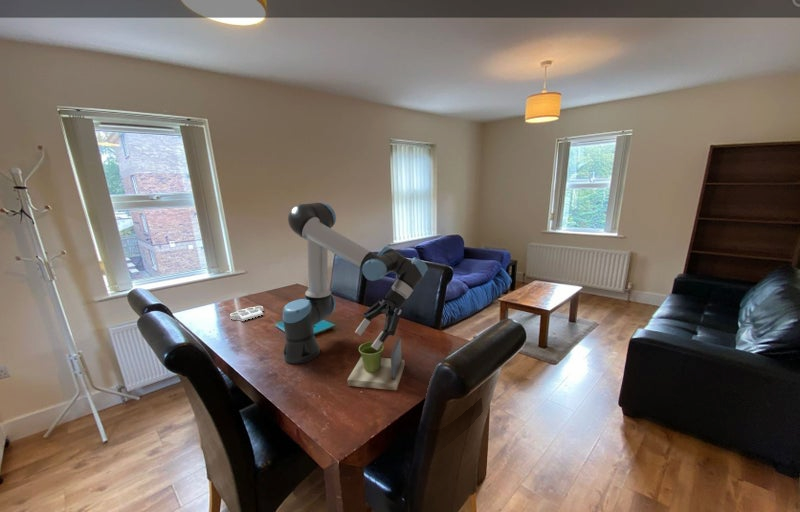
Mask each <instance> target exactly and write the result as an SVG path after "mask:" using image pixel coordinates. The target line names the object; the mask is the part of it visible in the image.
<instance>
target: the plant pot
mask: <svg viewBox="0 0 800 512" xmlns="http://www.w3.org/2000/svg"><path fill="white" fill-rule="evenodd" d="M373 343H374V341H367V342H365V343H362V344H360V345H359V347H358V352H359V353H360V356H362V360H363V364H364V369H365V371H367V372H376V371H378V370H379V369H380V367H381V358H383V357H382V356H383V355H382V354H383V351H384V349H385V346H384V345H383V343H382V344H381V346H380V347H379V349H378V350H376V349H374V348H373V347H371V346H372V344H373Z"/></svg>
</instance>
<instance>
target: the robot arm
mask: <svg viewBox="0 0 800 512" xmlns="http://www.w3.org/2000/svg"><path fill="white" fill-rule="evenodd" d="M336 216H337V215H336V212H335V210H334V208H333V207H332V206H331V205H330V204H328V203H326V202H310V203H299V204H297V205H295V206H293V207H292V208H291V209H290V211H289V213H288V217H287V221H288V225H289V227H290V229H291V231H292V232H294V233H295V234H297V235H298V236H299V237H301V238H302V239H304V240H306V241H307V245H306V246H307V276H308V277H307V281H308V282H307V285H308V287H307V290H306V291H305V293H304V298H301V299H300V298H299V299H295V300H292V301H289V302H287V304H285V306H283V308H282V321H283V327H284V328H283V329H284V336H285V344H284V347H283V352H282V355H283V360H284V361H285V362H286V363H289V364H293V365H294V364H303V363H307V362H311V361H313V360H314V359H316V358H317V357H318V356H319V354H320V352H321V351H320V345H319V343H318V341H317V339H316V336H315V333H314V326H316V325H317V324H318V323H320V322H322V321H323V320H325V319H327V318H329V317H330V316H331V315H332V314H333V313H334V312H335V310H336V307H337V306H336V305H337V303H336V298H335V297H334V295H333V294H332V291H331V290H330V288H328V287H329V286H328V284H329V282H328V281H329V279H328V275H329V274H328V270H329V268H328V266H329V265H328V262H329V261H328V257H329V255H328V253H329V252H331V253H332V254H334V255H336V256H338V257H339V258H341V259H343V260H344V261H346V262H348V263H350V264H351V265H352V266H355V268H358V269H360V270H361V271H362V275H363V276H364V278H365V279H366V280H368V281H371V282H375V281H378V280H381V279H383V278H384V277H385V276H387V275H388V274H390V273H392V272H393V273H394V274H395V275H397V276H398V278H397V279H396V281H394V283H393V284H392V286H391V289H389V290H388V291H387V293H386V294H385V299H384V298H382V297H380V298H379V299H378V301H376V302H375V303H373V305H372V306H370V307H369V308H368V309H366V310H365V311H364V312H363V315H364V318H363V319H362V321H361V322H360V324H359V325H358V327H357V328H356V330H355V331H354V333H356V334H357V335H359V337H360V336H362V334H363V333H364V331H365V330H366V329H367V327H368V326H369V325H370V323H371V321H372V320H373V319H375V318H376V317H378V316H380V315H385V322H384V329H382V330H381V332H380V333H379V334H378V336H377V337H376V338H375V340H374V341H373V342H374V343H373V344H372V346H371V347H373V348H374V349H376V350H378V349H379V347H380V346H381V344H383V343H384V342H385V341H386V340H387V338H388V337H389V336H395V334H396V331H397V328H398V324H399V321H400V318H401V316H402V314H403V310H402V309H400V308H402V307H403V306H404V304H405V303H406V301H407V299H408V298H409V297H410V296H411V294H412V293H413V291H414V290H415V289H416V287H417V286H418V284H420V282H421V280H422V279H423V278H424V276H425V274H426V273H427V271H428V265H427V264H426V263H425V262H424V261H423V260H422V259H420V258H418V257H412V259H410V258H409V259H408V258H407V257H406V256H404V255H403V254H402V253H399V252H398V251H396V250H395V249H394V248H392V247H390V246H388V245H384V246H383V247H382V248H381V249H380V250H379V251H378V253H377V254H375V253H373V252H372V251H371V250H369V249H366V248H365V247H363V246H361V245H360V244H359V243H356V241H353V240H351V239H350V238H348V237H346V236H345V235H343V234H341V233H339V232H338V231H336V230H334V229H332V227H333V226H334V225H335V223H336V221H337V217H336Z"/></svg>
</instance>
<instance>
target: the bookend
mask: <svg viewBox="0 0 800 512" xmlns="http://www.w3.org/2000/svg"><path fill="white" fill-rule="evenodd" d="M390 359H391V374H392V380H395V379H396V376H397V374H398V371H399V368H400V365H401V362H402V360H401V359H402V339H401V338H397V339H396V341H395V344H394V346H393V348H392V350H391V353H390Z"/></svg>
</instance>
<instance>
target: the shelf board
mask: <svg viewBox="0 0 800 512" xmlns="http://www.w3.org/2000/svg"><path fill="white" fill-rule="evenodd" d="M401 360H402V362H401V365H400V368H399V371H398V374H397V376H396V379H395V380H392V374H391V357H390V358H388V357H387V358H386V357H381V367H380V369H379V370H378V371H376V372H367V371H365V369H364V364H363V360H362V355H360V358H359V360H358V361H357V363H356V365H355V366H354V368H353V370H352V371H351V373H350V375H349V376H348V378H347V386H349V387H357V388H358V387H359V388H367V389H368V388H370V389H379V390H380V389H381V390H389V391H391V390H392V391H397V390H398V387H399V384H400V380H401V378H402V376H403V371H404V368H405V364H406V362H405V359H402V358H401Z"/></svg>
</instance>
